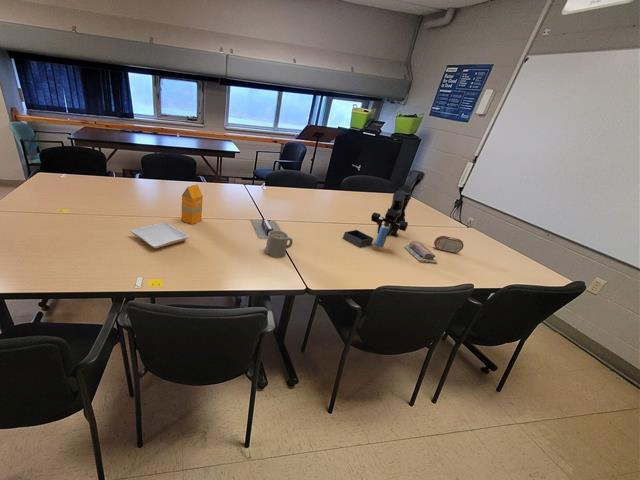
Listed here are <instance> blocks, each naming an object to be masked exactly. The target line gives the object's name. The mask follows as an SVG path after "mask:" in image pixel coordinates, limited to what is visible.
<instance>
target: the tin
mask: <svg viewBox="0 0 640 480" xmlns="http://www.w3.org/2000/svg"><path fill="white" fill-rule="evenodd" d="M433 245H434V247H435V248H436V249H437V250H439V251H444V252H448V253H451V254H457V253H460V252H461V251H462V250H463V249H464V246H465V245H464V241H463V240H461V239H460V238H455V237H453V236H452V237H451V236H447V235H440V236H438V237H436V238H435V240H434V242H433Z"/></svg>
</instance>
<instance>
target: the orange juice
mask: <svg viewBox="0 0 640 480" xmlns="http://www.w3.org/2000/svg"><path fill="white" fill-rule="evenodd" d="M203 197H204V195H203V194H202V192H201V189H200V187H199V185H198V184H194V185H189V186H187V187H186V188H185V190H184V192H183V193H182V194H181V221H182V222H185V223H187V224H190V225H194V224H196V223H198V222H200V221H202V217H203V216H202V215H203Z"/></svg>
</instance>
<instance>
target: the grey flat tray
mask: <svg viewBox="0 0 640 480" xmlns="http://www.w3.org/2000/svg"><path fill="white" fill-rule="evenodd" d="M251 222H252V225H253V227H254V229H255V231H256V233H257V235H258V237H259V239H267V238H268V233H269V232H270V231H272V230H278V231H281V230H280V228H279V227H278V225H277V223H276V222H275V221H269V220H268V219H262V220H251Z"/></svg>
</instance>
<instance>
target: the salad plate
mask: <svg viewBox="0 0 640 480" xmlns="http://www.w3.org/2000/svg"><path fill="white" fill-rule="evenodd" d="M129 231H130V233H131V234H132V235H134V236H135V237H137V238H138V239H140V240H141V241H143V242H145V243H146V244H147V245H149V246H150V247H151V248H152V249H159V248H163V247H168V246H171V245H173V244H177V243H179V242H183V241H185V240H188V239H189V238H190V235H189V234H187V233H185V232H183V231H182V230H180V229H178V228H177V227H175V226H173V225H171V224H170V223H168V222H158V223H154V224H150V225H146V226H140V227H137V228H132V229H130V230H129Z"/></svg>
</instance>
